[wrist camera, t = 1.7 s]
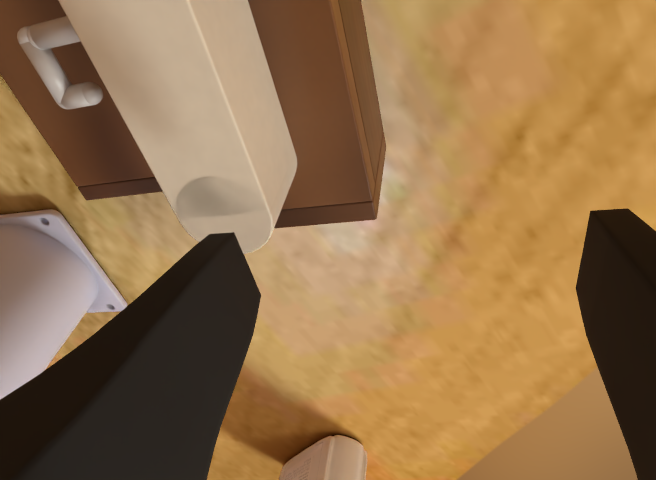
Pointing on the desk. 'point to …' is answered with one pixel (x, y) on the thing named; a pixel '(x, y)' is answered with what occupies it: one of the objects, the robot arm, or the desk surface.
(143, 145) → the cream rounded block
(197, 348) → the robot arm
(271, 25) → the stepped wooden block
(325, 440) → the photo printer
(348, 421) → the desk surface
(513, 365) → the desk surface
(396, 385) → the desk surface
